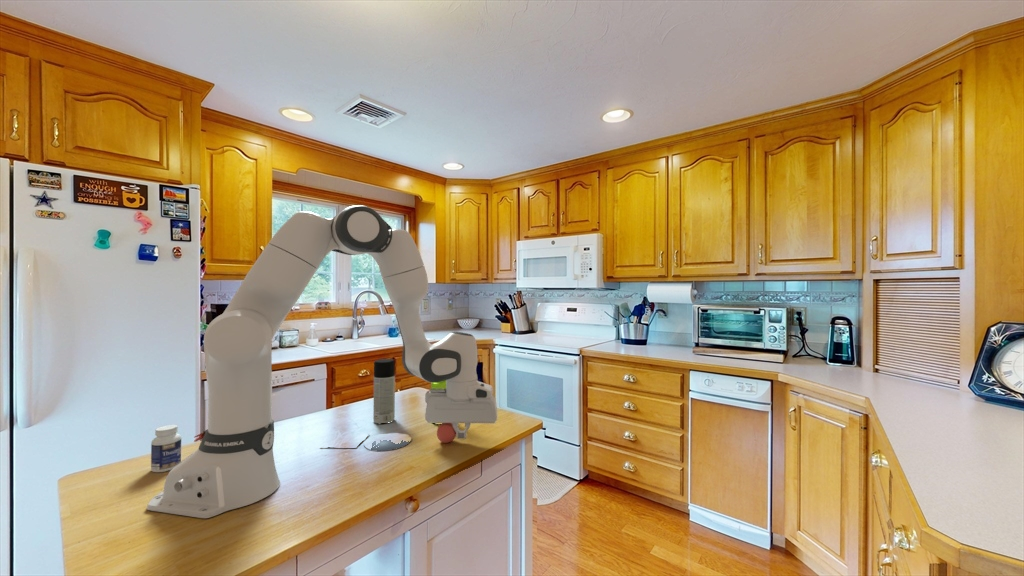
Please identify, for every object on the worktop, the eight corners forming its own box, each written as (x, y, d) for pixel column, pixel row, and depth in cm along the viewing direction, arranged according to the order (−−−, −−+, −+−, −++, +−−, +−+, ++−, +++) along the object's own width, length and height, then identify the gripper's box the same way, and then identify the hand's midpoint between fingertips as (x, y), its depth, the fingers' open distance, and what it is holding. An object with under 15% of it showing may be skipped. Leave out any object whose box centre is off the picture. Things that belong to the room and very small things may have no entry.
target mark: (355, 450, 103) (355, 450, 103) (373, 432, 116) (373, 432, 116) (404, 451, 102) (404, 450, 102) (416, 433, 115) (416, 432, 115)
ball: (436, 447, 106) (433, 427, 106) (439, 439, 112) (437, 420, 112) (455, 444, 106) (453, 424, 106) (458, 437, 112) (456, 418, 112)
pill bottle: (163, 474, 89) (163, 432, 89) (144, 472, 90) (145, 430, 90) (186, 464, 95) (187, 424, 95) (169, 462, 96) (169, 422, 96)
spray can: (397, 418, 129) (398, 358, 129) (389, 425, 122) (389, 362, 122) (378, 417, 130) (379, 358, 130) (369, 424, 123) (369, 361, 123)
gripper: (422, 391, 106) (422, 441, 105) (496, 392, 105) (496, 442, 105) (427, 385, 112) (427, 433, 112) (497, 386, 111) (497, 434, 111)
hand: (461, 437), depth 108 cm, fingers closed
